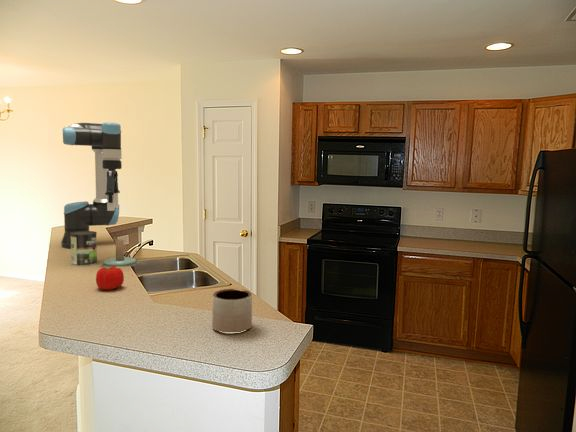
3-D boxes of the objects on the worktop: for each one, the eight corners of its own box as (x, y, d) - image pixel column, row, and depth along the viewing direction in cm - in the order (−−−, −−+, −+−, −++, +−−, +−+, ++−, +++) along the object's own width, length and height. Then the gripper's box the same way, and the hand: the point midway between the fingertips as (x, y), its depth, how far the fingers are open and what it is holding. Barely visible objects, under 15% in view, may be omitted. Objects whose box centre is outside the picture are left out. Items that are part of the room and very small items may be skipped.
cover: (107, 259, 190) (106, 237, 189) (137, 259, 193) (136, 237, 192) (101, 266, 177) (100, 242, 176) (133, 265, 180) (133, 242, 179)
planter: (204, 326, 116) (204, 293, 114) (235, 317, 123) (236, 286, 122) (227, 339, 108) (228, 303, 107) (259, 328, 115) (260, 294, 114)
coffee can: (102, 262, 187) (101, 231, 185) (87, 268, 177) (86, 235, 175) (82, 261, 189) (81, 230, 187) (65, 266, 179) (64, 233, 177)
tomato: (128, 287, 150) (128, 267, 149) (106, 293, 143) (106, 272, 142) (111, 283, 155) (111, 263, 154) (89, 289, 147) (89, 268, 147)
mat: (106, 260, 190) (106, 259, 190) (138, 260, 193) (138, 258, 193) (99, 268, 177) (99, 266, 177) (134, 267, 180) (134, 265, 180)
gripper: (106, 160, 190) (107, 206, 192) (97, 158, 166) (99, 212, 168) (124, 160, 192) (125, 206, 194) (118, 159, 168) (119, 211, 170)
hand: (113, 209), depth 181 cm, fingers open, 13 cm apart
